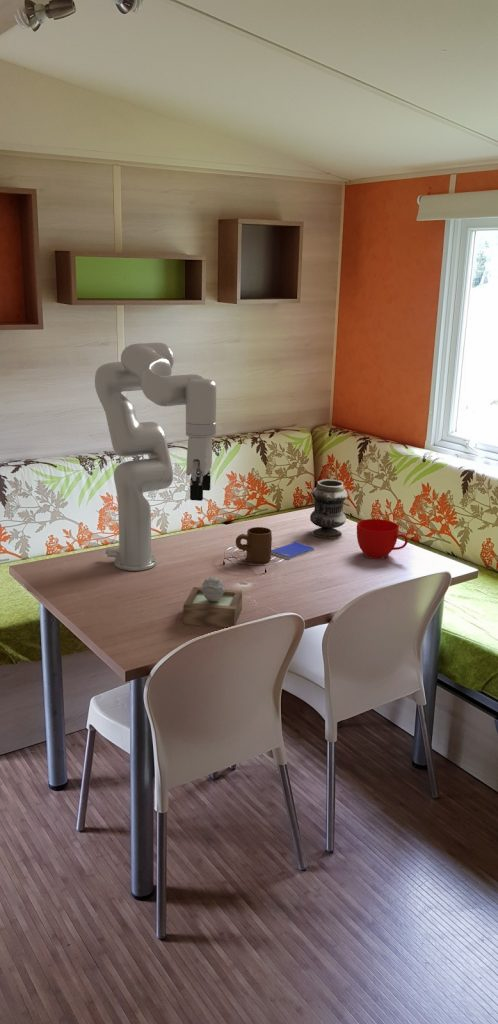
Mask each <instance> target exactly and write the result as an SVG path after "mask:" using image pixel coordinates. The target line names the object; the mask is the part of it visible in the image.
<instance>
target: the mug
mask: <svg viewBox="0 0 498 1024" xmlns="http://www.w3.org/2000/svg"><path fill="white" fill-rule="evenodd" d="M272 535H273V534H272V530H271V529H270V528H268V527H262V526H257V527H255V526H254V527H250V528H248V529H247V533H246V534H245V533H241V534H239V535H237V537H236V538H235V545H236V547H237V549H238V550H241V551H246V559H247V561H248V562H250V563H251V564H266V563H268V562H270V561H271V559H272V554H271V550H272V545H273V544H272V541H273V540H272V539H273V536H272ZM242 540H244V541H245V540H246V543H245V544H242Z"/></svg>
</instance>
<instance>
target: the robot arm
mask: <svg viewBox="0 0 498 1024" xmlns="http://www.w3.org/2000/svg"><path fill="white" fill-rule="evenodd" d="M174 359H175V357H174V353H173V351H172V350H171V348H170V347H169V345H167V344H165V343H162V342H146V343H143V342H142V343H141V342H140V343H139V342H138V343H133V344H130V345H128V346H126V347H125V348H124V349H123V350H122V351H121V354H120V361H113V362H107V363H104V364H101V365H100V366H99V367H98V368H97V369H96V371H95V376H94V388H95V391H96V395H97V397H98V399H99V402H100V403H101V406H102V408H103V411H104V414H105V417H106V422H107V428H108V431H109V437H110V441H111V446H112V449H113V452H114V454H115V455H117V456H119V457H121V458H123V457H124V458H128V457H137V456H145V455H146V456H148V458H141V459H136V460H135V459H134V460H128V461H124V462H121V463H119V464H118V465H117V466H116V468H115V469H114V471H113V480H114V481H113V482H114V485H115V486H114V487H115V491H116V496H117V497H116V498H117V512H118V514H117V517H118V519H117V520H118V547H117V548H111V547H107V548H106V549H105V554H106V556H107V557H108V558H110V557H111V558H113V557H114V558H115V559H114V561H113V562H114V563H113V564H114V566H115V568H117V569H119V570H124V571H130V572H131V571H133V572H134V571H135V572H136V571H137V572H138V571H145V570H149V569H151V568H154V567H155V566H156V565H157V563H158V562H157V561H158V560H157V557H156V556H154V555H152V512H151V511H152V510H151V508H152V507H151V505H150V503H149V501H148V500H147V499H146V497H145V496H144V493H147V492H153V491H159V490H164V489H167V488H169V487H170V486H171V485H172V484H173V481H174V470H173V465H172V460H171V455H170V451H169V446H168V441H167V437H166V434H165V431H164V429H163V428H162V426H161V425H160V424H159V423H158V422H154V421H143V422H139V421H138V419H137V414H136V410H135V406H134V405H133V403H132V402H131V401H130V400H129V399H128V397H126V396H125V395H124V394H123V393H122V392H135V391H136V392H138V391H142V393H143V396H145V397H146V398H147V400H149V401H150V402H152V403H154V404H156V405H157V406H160V407H173V406H174V407H175V406H176V407H177V406H185V436H187V437H188V439H187V440H188V441H187V448H186V450H187V451H186V475H187V476H191V477H190V483H189V500H190V501H199V502H203V500H204V491H206V492H207V491H211V480H212V479H211V477H212V476H211V469H212V463H213V437H215V436H216V435H217V432H216V431H217V384H216V382H215V381H214V380H212V379H207V378H204V377H203V376H201V375H199V374H195V373H194V374H176V375H172V369H173V366H174V361H175V360H174Z"/></svg>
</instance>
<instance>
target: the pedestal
mask: <svg viewBox="0 0 498 1024" xmlns="http://www.w3.org/2000/svg"><path fill="white" fill-rule="evenodd" d="M182 606H183V607H182V608H183V614H182V615H183V619H182V620H183V625H189V626H190V625H193V626H203V627H204V626H205V627H214V628H215V627H217V628H227V627H231V626H234V625H235V626H237V622H238V620H239V618H240V615H241V612H242V610H243V590H235V589H225V592H224V594H223V596H222V598H221V599H220V600H219V601H216V602H211V601H208V600H207V599H206V598H205V596H204V595H203V592H202V590H201V587H196V586H194V587H192V589H191V591H190V593H189V595H188V596H187V598H186V599H185V601H184V603H183V605H182Z"/></svg>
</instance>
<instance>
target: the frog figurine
mask: <svg viewBox="0 0 498 1024" xmlns="http://www.w3.org/2000/svg"><path fill="white" fill-rule="evenodd" d="M200 588H201V590H202V592H203V595H204V596H205V598H206V599H207V600H208V601H211V602H216V601H219V600H220V599H221V598H222V596H223V594H224V592H225V590H226V588H225V584H224V582H223V581H222V580H221V579H219V578H218V577H216V576H209V577H207V578H205V579H204V581H203V582H202V583H201V587H200Z"/></svg>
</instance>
